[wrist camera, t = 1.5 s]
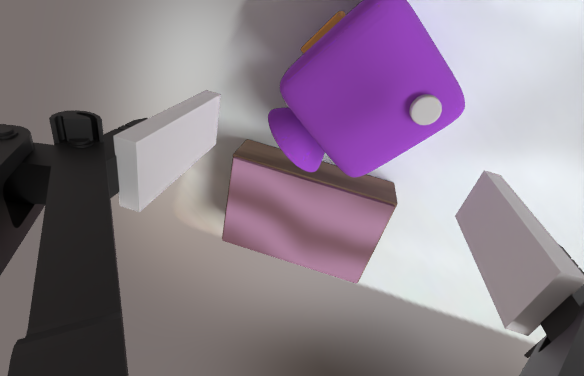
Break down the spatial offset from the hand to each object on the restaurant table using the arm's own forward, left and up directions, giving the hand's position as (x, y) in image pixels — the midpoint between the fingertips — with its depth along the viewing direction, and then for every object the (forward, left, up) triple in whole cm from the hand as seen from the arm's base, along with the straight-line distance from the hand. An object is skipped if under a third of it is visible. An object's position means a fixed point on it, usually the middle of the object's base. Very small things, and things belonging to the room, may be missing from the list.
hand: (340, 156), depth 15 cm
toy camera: (0, 0, -15) cm, 15 cm away
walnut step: (+13, -1, -15) cm, 20 cm away
